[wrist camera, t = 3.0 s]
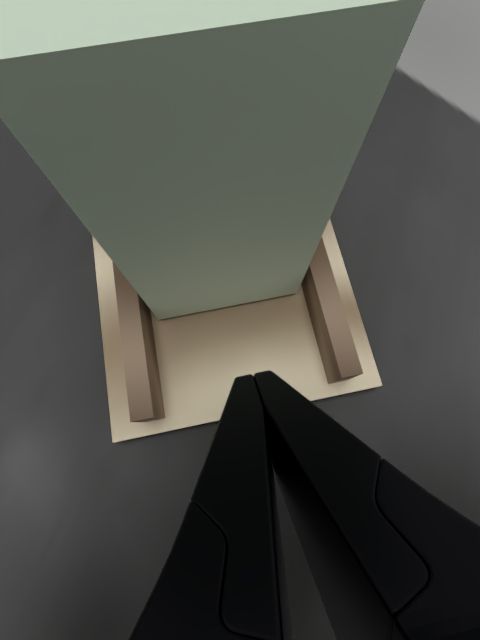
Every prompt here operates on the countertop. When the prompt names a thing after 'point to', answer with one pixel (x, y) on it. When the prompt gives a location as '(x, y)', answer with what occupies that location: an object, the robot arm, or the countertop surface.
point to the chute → (228, 347)
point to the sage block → (199, 129)
